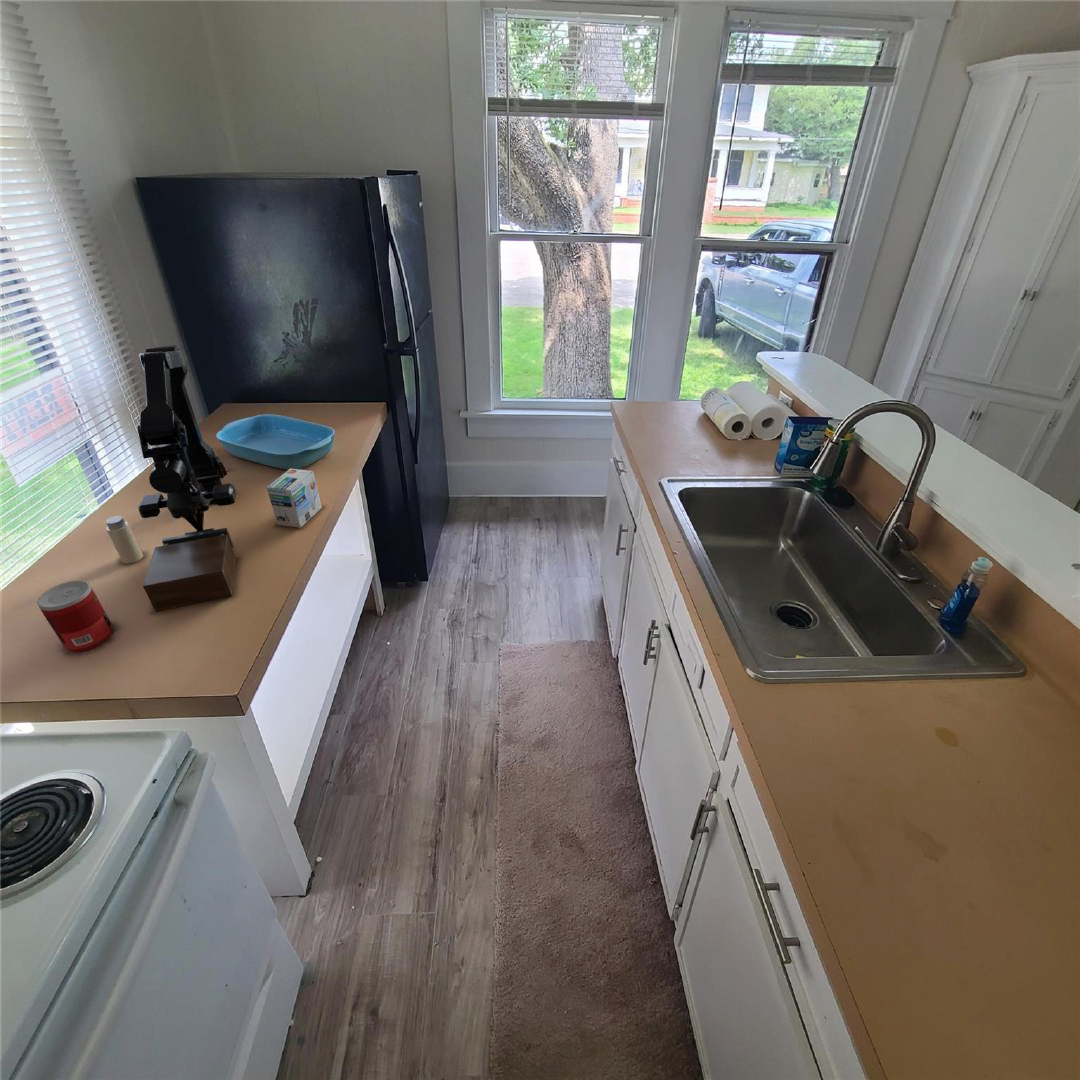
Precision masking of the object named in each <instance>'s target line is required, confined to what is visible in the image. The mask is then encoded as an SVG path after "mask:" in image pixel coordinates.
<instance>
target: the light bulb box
mask: <svg viewBox="0 0 1080 1080" xmlns="http://www.w3.org/2000/svg"><path fill="white" fill-rule="evenodd" d="M314 473H315V472H314V471H313V470H308V469H307V470H305V469H299V470H298V469H289V470H285V472H284V473H282V474H281V475H280V476H279V477H278V478H276V479H275V480H274V481H273V482H272V483H270V484H269V485H268V486H266V490H267V494H268V497H269V500H270V504H271V507H272V510H273V514H274V517H275V520H276V525H277V526H284V527H292V528H299V529H300V528H302V527H303V526H304V525H305V524H306V523H308V521H310V519H311V518H312V517H314V516H315V515H316V514H317V513H318V512H319V511H320V510H322V508H323V507H322V502H321V498H320V494H319V490H318V486H317V482H316V477H315V474H314Z"/></svg>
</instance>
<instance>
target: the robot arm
mask: <svg viewBox="0 0 1080 1080" xmlns="http://www.w3.org/2000/svg"><path fill="white" fill-rule="evenodd" d="M138 358H139V361H140V364H141V366H142V370H143V372H144V373H143V374H144V385H145V387H144V388H145V401H146V405H145V407H144V408H143V409H142V411H140V413H139V424H138V425H137V433H138V438H139V443H140V448H141V449H140V450H141V453H142V458H143V459H151V458H152V460H153V467H152V469H151V471H150V474H149V477H148V481H149V484H150V486H151V487H152V488H153V489H154V490H155V491H157V492H159V493H156V494H151V495H143V496H142V498H141V500H140V502H139V505H138V513H139V514H140V517H141V518H142V519H149V518H156V517H159V515H160V514H161V509H166V508H167V511H169V513H170V514H171V517H172V518H173V519H181V518H183V520H185V521H187V522H188V523H189V524H190V525H191V526H192V527H193V528H194V529H195V531H199V530H204V523H205V512H208V511H209V510H210V505H211V504H214V505H216V506H219V507H224V506H230V505H234V504H235V503H236V495H237V490H236V487H235V485H233V484H232V483H231V482H229V483H223V482H222V479H224V478H225V476H227V475H228V471H227V469H226V466H225V465H224V462H223V461H222V460H221V459H220V458H219V456H216V454H215V451H214V449H213V447H212V446H210V445H209V444H208V443H207V442H206V441H204V439H203V437H202V434H201V433H202V432H201V431H200V428H199V424H198V422H197V417H196V415H195V411H194V409H193V406H192V404H191V400H190V397H189V394H188V391H187V388H186V384H185V380H186V377H187V374H188V371H189V370H188V364H189V363H188V358H187V354H186V352H185V351H184V349H179V347H178V346H177V345H176V344H175V345H164V346H163V345H162V346H151V347H146V348H145V352H142V353H138ZM149 446H151V447H149ZM156 446H157V447H156ZM163 494H166V498H165V497H164V495H163Z"/></svg>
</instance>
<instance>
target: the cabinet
mask: <svg viewBox="0 0 1080 1080" xmlns="http://www.w3.org/2000/svg"><path fill="white" fill-rule="evenodd" d="M236 561H237V557H236V554H235V552H234V548H233V549H232V546H231V544H230V541H229V538H228V535H222V536H216V537H211V538H205V539H199V540H194V541H188V542H182V543H176V544H171V545H165V546H163V545H160V546H155V547H154V548H153V552H152V555H151V559H150V562H149V565H148V568H147V571H146V574H145V577H144V579H143V580H144V581H143V584H142V588H143V590H144V592H145V594H146V596H147V598H148V601H149V602H150V604H151V606H152V608H153V610H154V612H155V613H157V612H161V611H166V610H172V609H176V608H181V607H187V606H192V605H196V604H201V603H205V602H210V601H215V600H221V599H226V598H230V597H233V590H234V581H235V572H236V565H237V563H236Z"/></svg>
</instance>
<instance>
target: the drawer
mask: <svg viewBox="0 0 1080 1080" xmlns="http://www.w3.org/2000/svg"><path fill="white" fill-rule="evenodd" d="M222 535H228V538H229V541H230V544H231V546H232V549H233V550H234V543H233V541H232V538H231V535H230V531H229V530H228V527H221V528H216V529H215V528H214V527H212V528H206V529H203V530H199V531H197V530H194V531H188V532H185V533H184V534H183V535H177V536H170V537H163V538H162V540H161V543H162V546H165V545H171V544H176V543H182V542H188V541H194V540H199V539H205V538H211V537H216V536H222Z"/></svg>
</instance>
